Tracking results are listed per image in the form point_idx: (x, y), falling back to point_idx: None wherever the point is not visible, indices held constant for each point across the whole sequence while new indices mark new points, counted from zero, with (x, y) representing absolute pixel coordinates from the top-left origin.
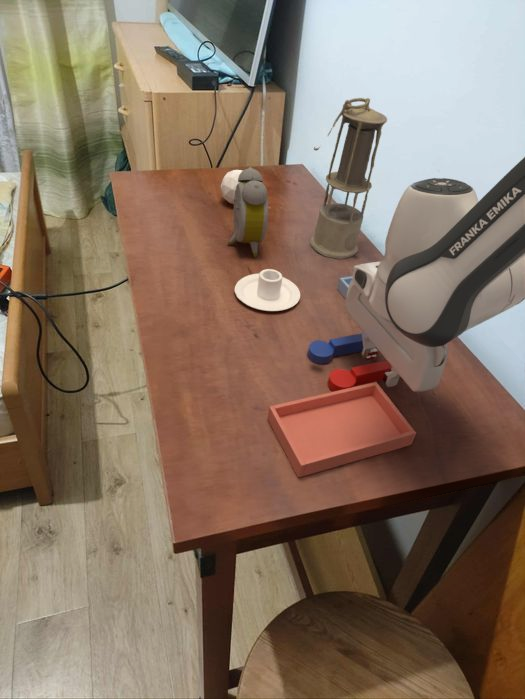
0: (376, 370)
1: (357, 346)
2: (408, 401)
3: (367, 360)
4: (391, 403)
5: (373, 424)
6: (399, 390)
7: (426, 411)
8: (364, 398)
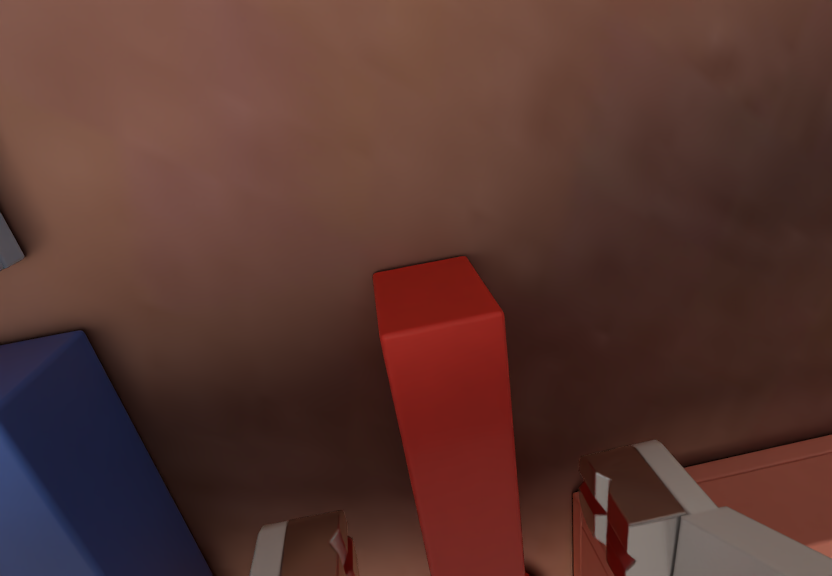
0: (516, 566)
1: (156, 564)
2: (703, 309)
3: (355, 555)
4: (828, 551)
5: None
6: (596, 332)
7: (827, 223)
8: None
